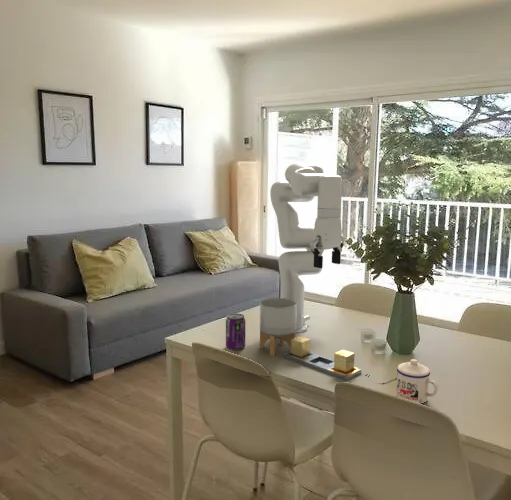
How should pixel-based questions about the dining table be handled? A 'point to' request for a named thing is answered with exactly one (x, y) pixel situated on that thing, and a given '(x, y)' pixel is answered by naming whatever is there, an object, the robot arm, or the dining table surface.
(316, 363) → the gray slotted tray
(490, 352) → the dining table surface
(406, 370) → the teacup with lid
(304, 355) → the brass block
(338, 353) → the brass block
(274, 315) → the planter
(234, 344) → the beverage can
